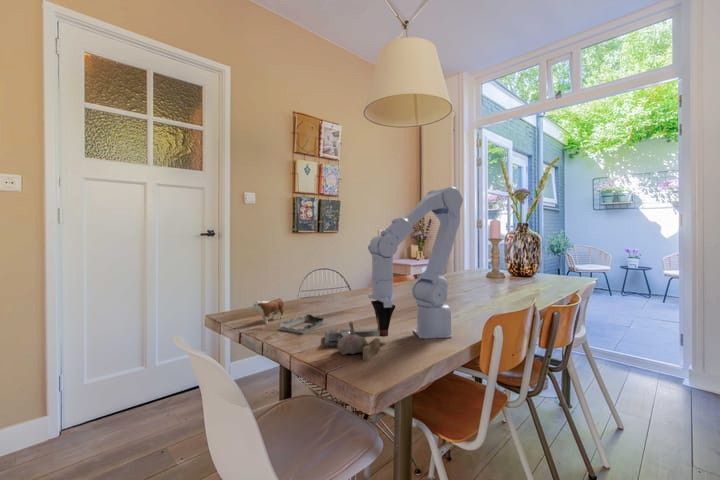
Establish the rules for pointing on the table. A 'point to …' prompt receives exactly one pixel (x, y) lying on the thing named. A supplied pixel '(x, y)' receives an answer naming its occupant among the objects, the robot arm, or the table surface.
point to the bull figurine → (269, 308)
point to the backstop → (371, 349)
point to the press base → (331, 343)
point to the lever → (362, 332)
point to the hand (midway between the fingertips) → (382, 328)
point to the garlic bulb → (351, 342)
